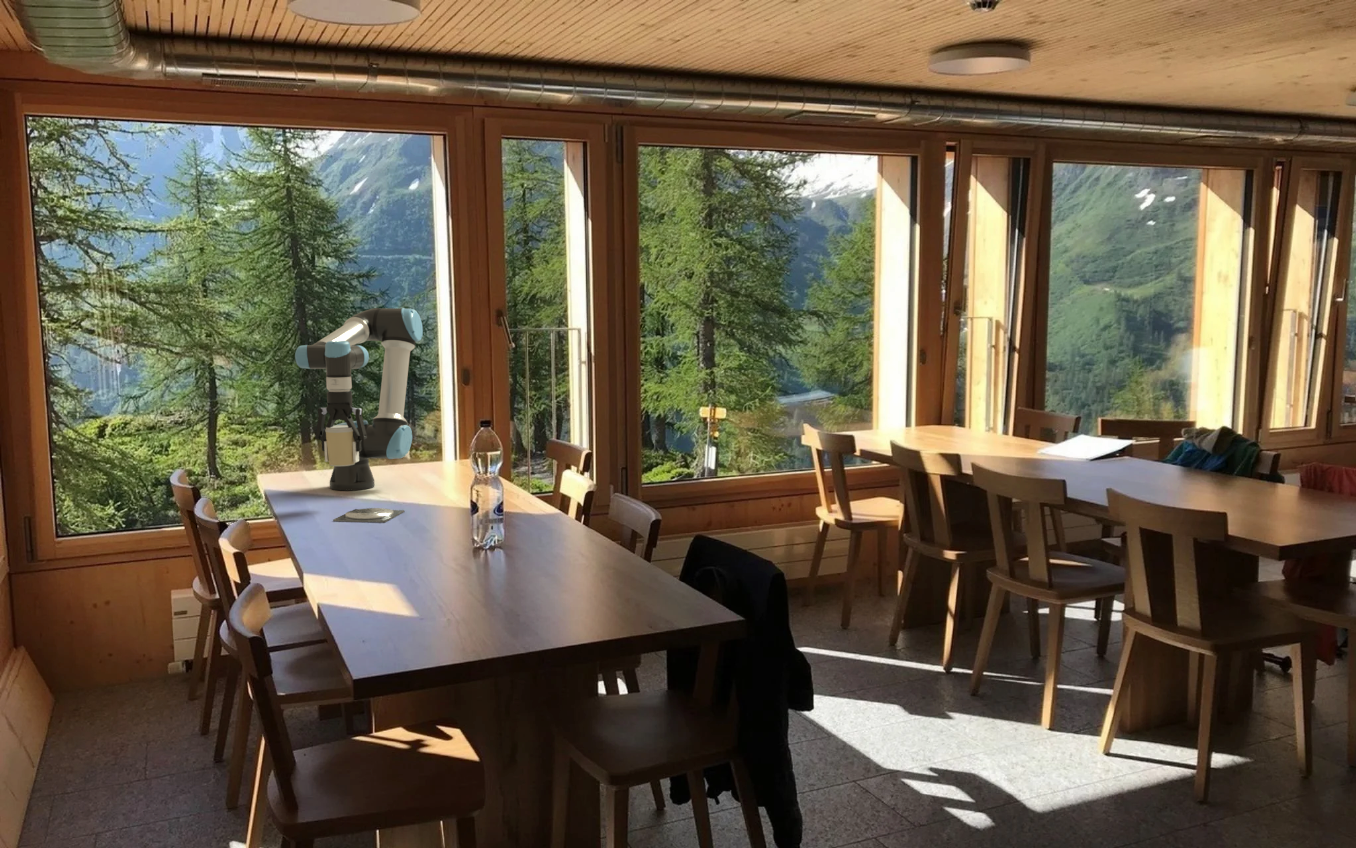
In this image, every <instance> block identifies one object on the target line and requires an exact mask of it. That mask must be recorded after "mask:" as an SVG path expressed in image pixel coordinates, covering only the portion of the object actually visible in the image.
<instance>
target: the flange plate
mask: <svg viewBox="0 0 1356 848" xmlns="http://www.w3.org/2000/svg"><path fill="white" fill-rule="evenodd" d="M405 511H406V510H403V509H399V510H398V509H390V508H383V507H381V508H380V507H371V508H370V507H369V508H367V507H366V508H358V509H357V508H355V509H353V510H350V511H347V512H345V513H344V514H342V515H339V516H337V517H336V518H334V519H332V522H346V523H347V522H348V523H349V522H351V523H379V524H381V523H384V524H385V523H387V522H389V521H391V520H392V519H394V518H396V517H398V516H400V515H402V514H404V513H405Z"/></svg>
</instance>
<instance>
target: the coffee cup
mask: <svg viewBox="0 0 1356 848" xmlns="http://www.w3.org/2000/svg"><path fill="white" fill-rule="evenodd" d="M325 428H326V429H325ZM325 428H324V430H325V432H326V439H327V448H328V457H329V462H328V464H329V466H331V467H334V466H350V465H354V464H355V462H353V442H354V441H355V440H354V437H353V430H352V427H351V428H349V427H348V425H337V424H334V425H333V427H330V428H328V427H326V426H325Z"/></svg>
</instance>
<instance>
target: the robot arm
mask: <svg viewBox="0 0 1356 848" xmlns="http://www.w3.org/2000/svg"><path fill="white" fill-rule="evenodd" d="M423 330H424V328H423V322H422V319H421V316H420V314H419V312H417V310H415V309H414V308H405V307H400V308H399V307H398V308H396V307H395V308H394V307H393V308H390V307H389V308H387V307H386V308H385V307H384V308H381V307H376V308H370V309H366V310H364V311H361V312H358V313H356V314H354V315H352V316H351V317H349V318H347V319H346V320H345V321H344V323H343V325H342V326H340V327H339V328H337V329H335V330H334V331H332V332H331V333H329V334H328V335H326V336H325V337H323V338H321V339H320V340H318V341H317V342H315V343H313V344H311V345H310V344H309V345H308V344H305V345H299V346H298V347H297V348H296V350H295V354H294V359H295V362H296V365H297V366H298V367H299V368H300V369H309V370H315V369H316V370H321V369H322V370H324V369H325V373H326V375H325V378H326V389H327V390H328V391H326V401H327V406H326V407H319V408H318V409H317V413H318V415H317V416H318V418H317V425H316V431H315V437H314V438H315V439H316V440H319V441H320V442H321V450H322V452H324V463H329V457H328V448H327V439H326V432H325V429H326V427H328V428H330V427H333V426H335V423H336V421H339V420H340V421H344V422H341V423H338V424H336V425H348V427H349V428H351V427H352V430H353V437H354V440H355V441H354V442H353V462H355V464H354V465H350V466H333V468H332V469H333V470H332V472H331V476H330V478H329V489H330V490H333V491H334V490H335V491H361V490H368V489H371V488H375V484H376V483H375V478H374V476H373V473H372V470H371V467H370V463H369V462H370V461H369V459H388V460H393V459H402V458H404V457H406V455H407V454H408V453H409V451H410V449H411V446H412V442H413V432H412V428H411V427H410V426H409V425H408V421H407V419H406V418H405V417H404V415H405V404H406V397H407V396H406V393H407V386H408V385H407V384H408V377H409V376H408V374H409V367H410V366H409V365H410V356H411V351H413V350H415V348H416V343H418V342H420V341H421V340H422V338H423V333H424V331H423ZM368 341H371V342H373V341H374V342H375V341H378V342H381V346H382V347H383V348H384V357H383V365H382V366H383V367H382V375H381V376H382V377H381V384H380V385H381V386H380V395H379V405H378V414H377V415H376V416H375V417H373V418H372V424H369V422H368V420H366V419H365V420H364V419H363V408H361V407H359V408H358V407H357V408H356V407H354V406H353V392H352V388H353V385H352V370H358V369H359V370H360V369H362V368H364V367H365V366H367V364H368V362H369V360H370V359H369V357H370V355H369V352H368V350H367V349H366V348H365V347H364V346H362V345H360V344H363V343H365V342H368ZM357 344H358V345H357ZM327 413H328V414H329V417H328V419H327V424H326V426H325V423H326V415H327ZM352 413H353V415H354V417H355V420H354V419H353V417H352Z"/></svg>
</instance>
